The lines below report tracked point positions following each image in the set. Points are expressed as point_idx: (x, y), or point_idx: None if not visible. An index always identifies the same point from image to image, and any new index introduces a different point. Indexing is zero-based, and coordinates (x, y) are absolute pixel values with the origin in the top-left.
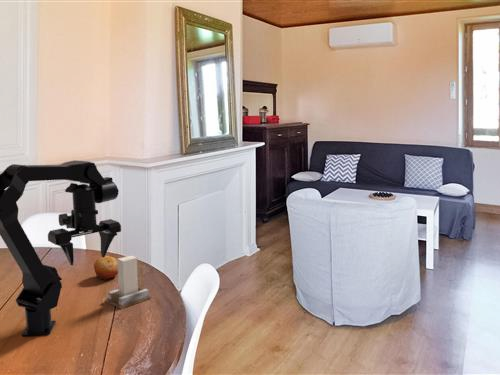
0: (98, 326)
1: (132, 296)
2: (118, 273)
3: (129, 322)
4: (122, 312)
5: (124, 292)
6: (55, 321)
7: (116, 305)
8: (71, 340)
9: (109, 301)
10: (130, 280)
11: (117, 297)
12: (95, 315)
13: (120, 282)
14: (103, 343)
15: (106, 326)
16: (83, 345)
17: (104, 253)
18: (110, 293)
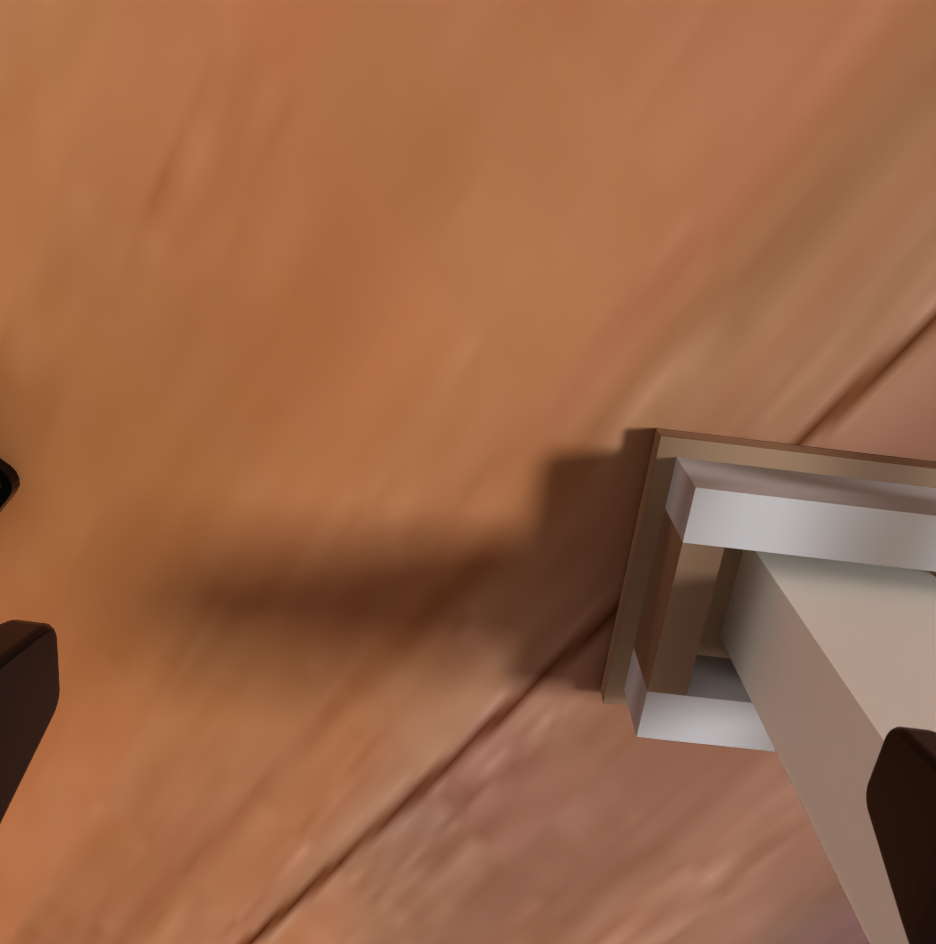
0: (273, 789)
1: (770, 742)
2: (872, 733)
3: (476, 901)
4: (562, 746)
5: (752, 694)
6: (5, 499)
7: (617, 626)
8: (14, 810)
9: (643, 498)
10: None
11: (651, 669)
12: (369, 621)
13: (807, 692)
14: None
15: (317, 830)
16: (52, 913)
17: (919, 932)
18: (684, 531)
